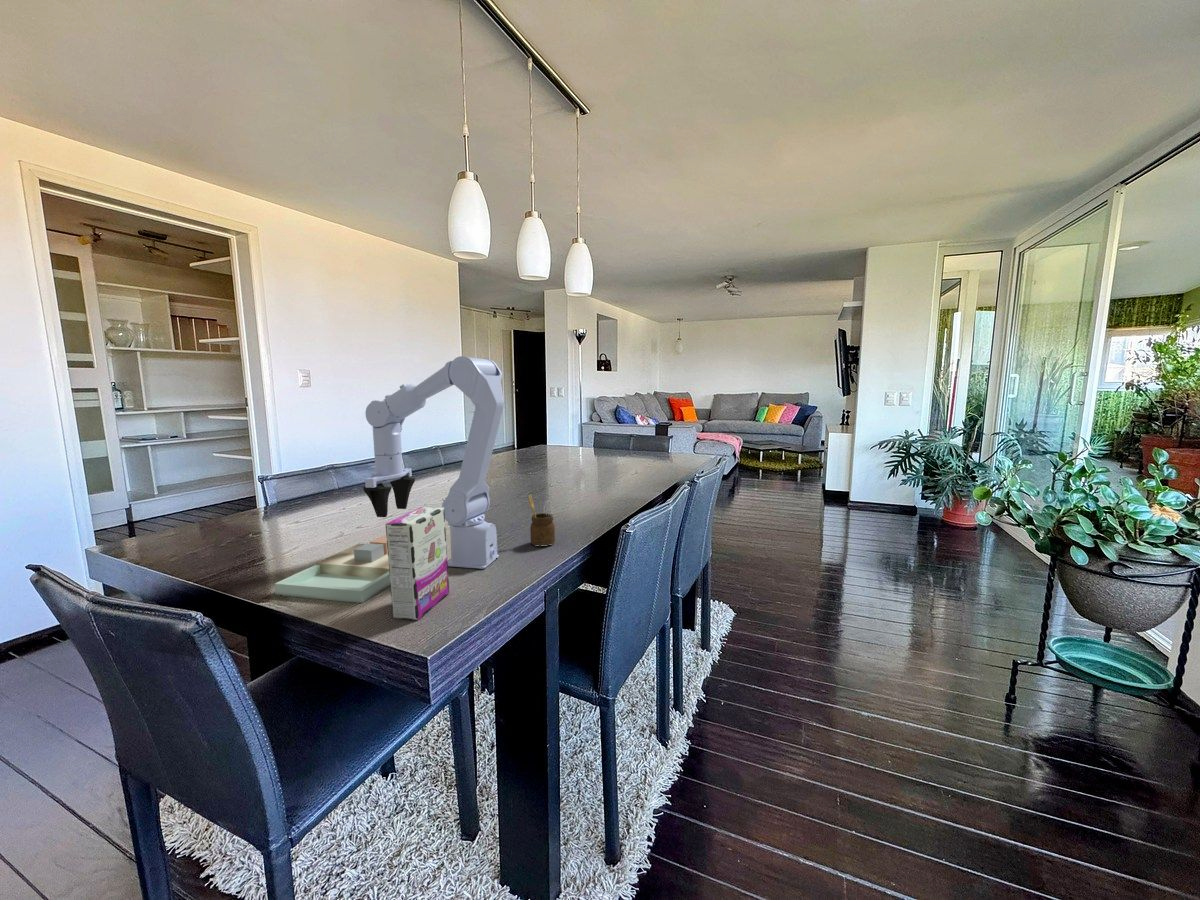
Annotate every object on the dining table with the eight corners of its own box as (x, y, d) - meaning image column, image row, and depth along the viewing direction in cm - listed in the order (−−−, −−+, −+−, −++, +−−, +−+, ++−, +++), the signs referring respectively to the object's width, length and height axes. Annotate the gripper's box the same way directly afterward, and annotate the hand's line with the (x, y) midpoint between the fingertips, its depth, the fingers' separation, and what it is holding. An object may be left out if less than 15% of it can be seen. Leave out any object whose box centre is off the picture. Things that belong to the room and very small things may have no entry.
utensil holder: (550, 548, 116) (549, 498, 115) (525, 546, 118) (524, 497, 116) (558, 540, 122) (557, 493, 120) (534, 539, 123) (533, 492, 122)
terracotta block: (398, 548, 109) (397, 537, 109) (387, 554, 105) (386, 543, 105) (382, 547, 110) (381, 536, 109) (370, 553, 106) (369, 541, 106)
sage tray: (396, 581, 97) (395, 570, 96) (362, 602, 87) (361, 591, 87) (316, 574, 100) (315, 564, 100) (275, 595, 90) (274, 583, 90)
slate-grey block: (384, 555, 104) (383, 544, 104) (371, 562, 100) (371, 550, 100) (367, 554, 105) (366, 543, 105) (354, 561, 101) (353, 549, 101)
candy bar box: (425, 591, 92) (420, 505, 90) (450, 593, 91) (446, 506, 89) (389, 619, 81) (383, 522, 79) (417, 621, 80) (412, 523, 78)
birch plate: (431, 559, 109) (430, 548, 109) (396, 581, 97) (395, 569, 96) (359, 554, 113) (358, 543, 113) (316, 574, 100) (315, 563, 100)
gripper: (391, 449, 119) (395, 504, 121) (350, 458, 105) (355, 520, 107) (418, 450, 118) (421, 505, 119) (380, 458, 104) (384, 521, 105)
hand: (392, 512), depth 113 cm, fingers open, 7 cm apart
